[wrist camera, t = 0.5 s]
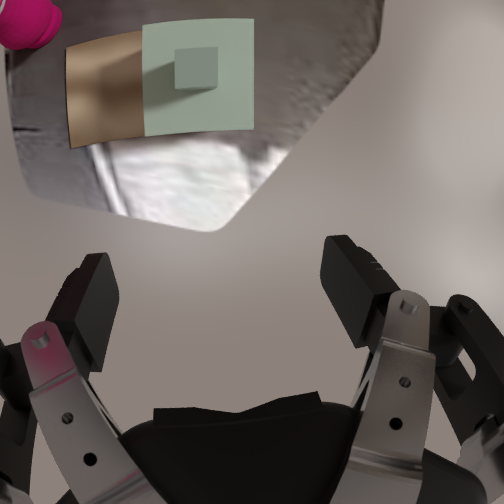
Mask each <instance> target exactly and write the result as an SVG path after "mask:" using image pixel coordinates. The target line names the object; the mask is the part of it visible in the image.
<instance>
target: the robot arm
mask: <svg viewBox="0 0 504 504" xmlns="http://www.w3.org/2000/svg"><path fill="white" fill-rule="evenodd" d="M320 279H321V284H322V286H323V288H324V290H325V292H326V294H327V296H328V298H329V299H330V301H331V303H332V305H333V307H334V308H335V311H336V312H337V314H338V316H339V318H340V320H341V321H342V323H343V326H344V327H345V329H346V331H347V333H348V335H349V337H350V339H351V341H352V343H353V345H354V347H355V348H360V347H365V346H368V348H369V350H370V351H369V353H368V356H367V359H366V362H365V365H364V368H363V371H362V374H361V378H360V381H359V384H358V387H357V390H356V393H355V395H354V398H353V400H352V403H351V405H350V407H349V406H346V405H343V404H338V403H331V402H321V400H320V397H319V394H318V391H316V392H311V393H306V394H300V395H294V396H289V397H283V398H278V399H275V400H273V401H270V402H268V403H265V404H262V405H260V406H257V407H254V408H252V409H249V410H246V411H243V412H240V413H231V412H223V411H215V410H208V409H201V408H195V407H190V408H189V407H188V408H154V413H153V420H150V421H147V422H144V423H141V424H139V425H137V426H134V427H133V428H131V429H129V430H128V431H126V432H125V433H123V432H122V430H121V429H120V428H119V427H118V425H117V424H116V422H115V421H114V420H113V418H112V417H111V415H110V414H109V412H108V410H107V409H106V407H105V406H104V404H103V403H102V401H101V399H100V398H99V396H98V395H97V393H96V391H95V390H94V388H93V386H92V384H91V383H90V381H89V380H88V378H89V374H90V372H102V368H103V363H104V358H105V354H106V350H107V345H108V342H109V338H110V334H111V330H112V326H113V322H114V318H115V315H116V311H117V307H118V304H119V290H118V286H117V282H116V279H115V276H114V272H113V269H112V265H111V262H110V258H109V256H108V254H107V253H94V254H87V255H86V257H85V258H84V260H83V262H82V264H81V266H80V268H76V269H75V270H74V271H73V272H72V273H71V274H70V275H68V276H67V278H66V280H65V281H64V283H63V285H62V288H61V289H60V291H59V293H58V296H57V297H56V299H55V301H54V303H53V305H52V307H51V309H50V311H49V313H48V315H47V317H46V319H45V321H43V322H38V323H36V324H34V325H33V326H31V327H30V328H28V329H27V331H26V332H25V333H24V335H23V337H22V339H21V342H19V343H15V344H11V345H8V346H5V345H4V344H3V342H2V341H1V339H0V395H1V396H2V398H3V399H4V400H5V401H4V405H3V408H2V413H1V416H0V504H33V502H32V500H31V499H30V497H29V490H30V475H31V464H32V455H33V447H34V440H35V434H36V428H37V422H38V423H39V425H40V428H41V430H42V433H43V435H44V437H45V440H46V442H47V444H48V446H49V449H50V451H51V453H52V455H53V457H54V459H55V461H56V463H57V465H58V467H59V469H60V471H61V473H62V475H63V477H64V478H65V480H66V482H67V484H68V486H69V487H70V489H69V490H68V491H67V492H66V494H65V495H64V496H63V497H62V498H61V499H60V500H59V501H58V502H57V503H56V504H490V503H492V502H493V501H495V500H496V499H497V498H498V497H500V496H501V495H502V494H504V336H503V335H502V334H501V332H500V331H499V330H498V328H497V327H496V326H495V325H494V323H493V322H492V321H491V320H490V318H489V317H488V316H487V315H486V313H485V312H484V311H483V310H482V309H481V307H480V306H479V305H478V304H477V303H476V302H475V301H474V300H473V299H471V298H469V297H467V296H464V295H459V294H456V295H453V296H451V297H450V299H449V301H448V303H447V305H446V307H440V306H429V304H428V302H427V301H426V300H425V299H424V298H423V297H422V296H421V295H419V294H417V293H415V292H412V291H408V290H401V289H400V288H399V287H398V285H397V284H396V283H395V282H394V280H393V279H392V278H391V277H390V276H389V274H388V273H387V272H386V271H385V270H383V267H382V266H381V265H380V264H379V263H377V260H376V259H375V258H374V257H373V256H372V254H371V253H369V252H368V251H366V250H364V249H363V248H361V247H357V246H356V245H355V243H354V242H353V241H352V240H351V239H350V238H349V237H348V236H347V235H334V236H327V237H326V239H325V243H324V250H323V257H322V263H321V270H320ZM463 348H464V349H465V351H466V352H467V354H468V355H469V357H470V358H471V360H472V362H473V363H474V365H475V368H476V375H475V378H474V380H473V381H472V380H471V378H470V376H469V374H468V373H467V371H466V370H465V368H464V366H463V365H462V363H461V361H460V360H459V358H458V356H459V354H460V353H461V351H462V349H463ZM433 389H434V391H435V393H436V395H437V397H438V398H439V400H440V402H441V404H442V407H443V408H444V411H445V413H446V414H447V417H448V419H449V421H450V423H451V425H452V427H453V429H454V432H455V434H456V436H457V438H458V440H459V443H460V445H461V451H460V457H459V458H458V460H457V464H455V463H453V462H451V461H449V460H447V459H445V458H443V457H441V456H439V455H437V454H435V453H433V452H431V451H429V450H427V449H425V448H424V445H425V440H426V435H427V429H428V423H429V417H430V410H431V403H432V394H433Z"/></svg>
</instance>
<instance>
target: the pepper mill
mask: <svg viewBox="0 0 504 504" xmlns="http://www.w3.org/2000/svg"><path fill="white" fill-rule="evenodd" d="M61 22H62V13H61V10H60V9H59V8H58V7H57V6H55V5H53V4H52V3H51V1H50V0H0V43H1V44H2V45H3V46H4V47H6V48H9V49H13V50H20V49H24V48H31V49H35V48H40V47H42V46H44V45H45V44H47V43H48V42H49V41H50V40H52V38H53V37H54V36H55V35H56V33H57V32H58V30H59V28H60V25H61Z"/></svg>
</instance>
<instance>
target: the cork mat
mask: <svg viewBox="0 0 504 504" xmlns="http://www.w3.org/2000/svg"><path fill="white" fill-rule="evenodd" d="M66 89H67V108H68V122H69V132H70V142H71V148H75V147H80V146H85V145H90V144H95V143H101V142H107V141H113V140H119V139H126V138H133V137H141V136H145V127H144V110H143V84H142V30H140V31H134V32H129V33H124V34H119V35H114V36H109V37H105V38H101V39H96V40H92V41H89V42H85V43H81V44H78V45H74V46H71V47H68V48H66Z"/></svg>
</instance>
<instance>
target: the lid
mask: <svg viewBox="0 0 504 504" xmlns="http://www.w3.org/2000/svg"><path fill="white" fill-rule="evenodd" d="M142 84H143V110H144V127H145V137H146V136H155V135H164V134H174V133H186V132H200V131H217V130H247V129H254V19H197V20H183V21H172V22H163V23H155V24H148V25H143V30H142Z"/></svg>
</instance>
